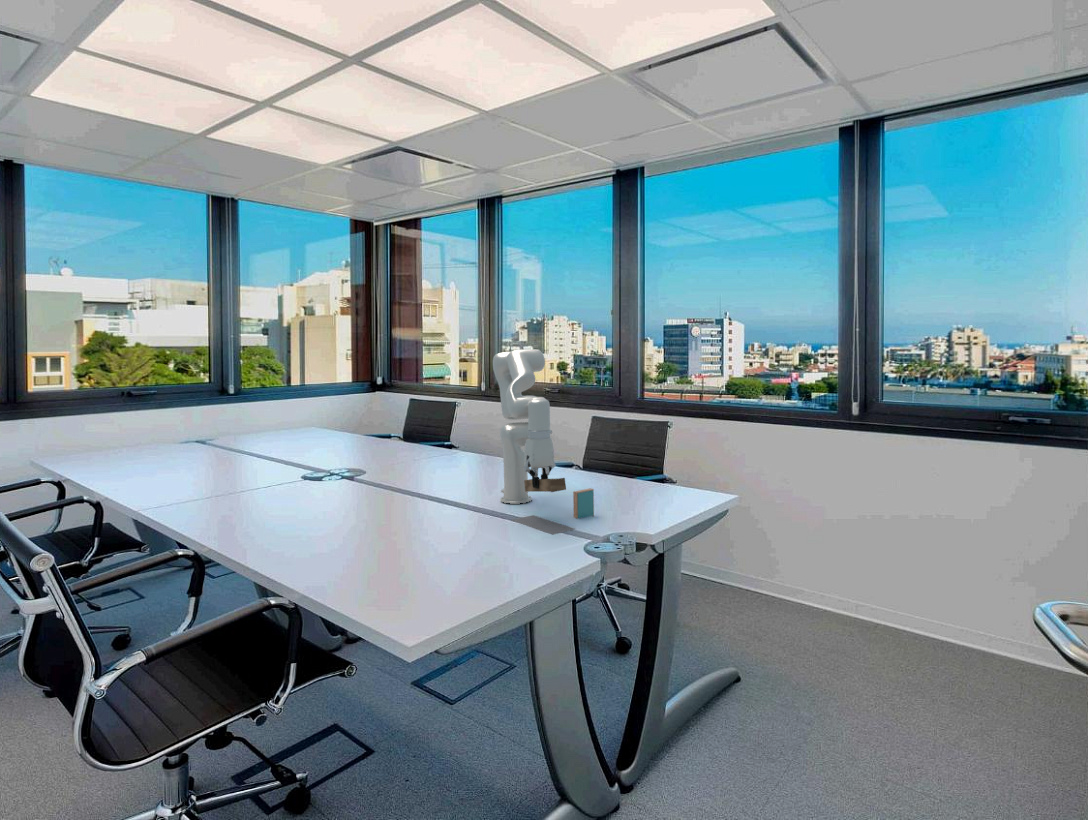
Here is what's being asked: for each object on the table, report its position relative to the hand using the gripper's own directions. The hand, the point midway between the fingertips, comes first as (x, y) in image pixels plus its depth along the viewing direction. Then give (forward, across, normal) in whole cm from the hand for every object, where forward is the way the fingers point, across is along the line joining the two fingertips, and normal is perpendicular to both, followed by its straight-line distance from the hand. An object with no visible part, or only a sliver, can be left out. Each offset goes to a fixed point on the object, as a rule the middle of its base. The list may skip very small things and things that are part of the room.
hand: (540, 486), depth 227 cm
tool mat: (+13, +2, +4) cm, 14 cm away
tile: (+13, -16, +5) cm, 21 cm away
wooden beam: (+1, 0, +2) cm, 2 cm away
